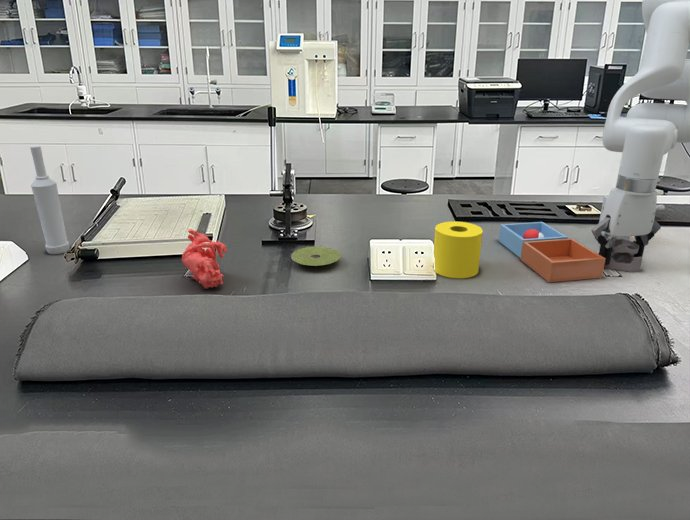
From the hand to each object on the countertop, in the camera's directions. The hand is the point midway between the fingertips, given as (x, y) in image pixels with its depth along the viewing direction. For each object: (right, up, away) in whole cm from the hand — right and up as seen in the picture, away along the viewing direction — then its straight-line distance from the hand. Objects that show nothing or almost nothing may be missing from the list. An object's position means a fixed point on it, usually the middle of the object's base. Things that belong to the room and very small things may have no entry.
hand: (619, 260), depth 119 cm
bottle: (-131, +2, +9) cm, 131 cm away
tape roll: (-37, -2, -1) cm, 37 cm away
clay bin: (-14, -2, -1) cm, 14 cm away
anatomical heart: (-91, -5, -8) cm, 91 cm away
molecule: (-16, +4, +11) cm, 19 cm away
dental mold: (+1, -1, +1) cm, 2 cm away
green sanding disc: (-68, -1, +2) cm, 68 cm away
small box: (+6, +5, +16) cm, 18 cm away
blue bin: (-16, +3, +11) cm, 20 cm away
